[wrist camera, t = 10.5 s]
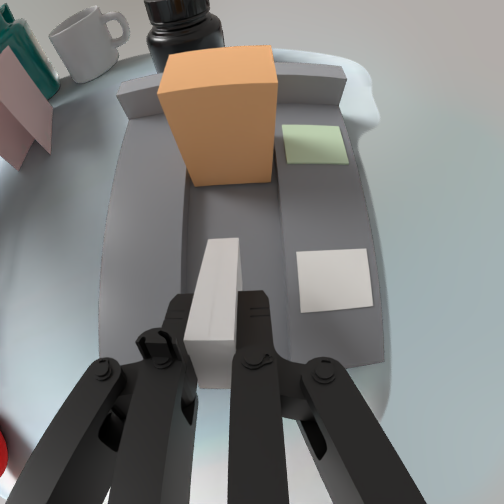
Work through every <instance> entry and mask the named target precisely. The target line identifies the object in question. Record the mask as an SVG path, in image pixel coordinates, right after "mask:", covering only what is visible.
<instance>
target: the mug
mask: <svg viewBox="0 0 504 504" xmlns="http://www.w3.org/2000/svg"><path fill="white" fill-rule="evenodd" d="M110 20H117V21H118V22H119V23H120V25H121V26H122V29H123V35H122V36H121V37H120V38H116V39H112V37H111V34H110V32H109V30H108V28H107V25H106V22H108V21H110ZM129 37H130V28H129V24H128V22H127V20H126V18H125V17H124V16H123V15H122V14H121V13H120V12H116V11H113V12H108V13H105V14H102V13H101V11H100V9H99V7H98V6H92V7H89V8H86V9H84V10H82V11H80V12H78V13H76V14H74V15H72V16H71V17H69V18H68V19H66V20H65V21H63V22H62V23H61V24H59V25H58V26H57V27H56V28H55V29H53V30H52V32H51V33H50V34H49V39H50V41H51V42H52V44H53V46H54V48H55V49H56V51H57V53H58V55H59V56H60V58H61V59H62V61H63V63H64V65H65V66H66V68H67V70H68V71H69V73H70V75H71V77H72V78H73V80H74V81H75V82H76V83H85V82H88V81H91V80H93V79H95V78H97V77H99V76H100V75H102V74H103V73H105V72H106V71H108V70H109V69H110V68H111V67H112V66H113V65H114V64H115V63H116V62H117V60H118V58H119V53H118V50H117V49H116V48H117V47H119V46H121V45H123V44H125V43H126V42H127V41H128V39H129Z"/></svg>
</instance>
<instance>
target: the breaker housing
mask: <svg viewBox="0 0 504 504" xmlns="http://www.w3.org/2000/svg"><path fill="white" fill-rule="evenodd" d="M274 64H275V69H276V74H277V80H278V92H277V106H276V121H275V135H274V148H273V161H272V174H271V182H267V183H244V184H226V185H211V186H198V187H195V186H194V184H193V182H192V179H191V177H190V175H189V172H188V170H187V167H186V165H185V163H184V160H183V158H182V155H181V153H180V151H179V148H178V146H177V143H176V141H175V138H174V136H173V133H172V131H171V129H170V126H169V124H168V121H167V119H166V116H165V114H164V111H163V109H162V106H161V104H160V101H159V98H158V96H157V92H158V88H159V85H160V82H161V79H162V75H163V73H159V74H154V75H150V76H145V77H141V78H137V79H133V80H129V81H125V82H122V83H121V85H120V88H119V90H118V92H117V95H116V96H117V98H118V100H119V102H120V104H121V106H122V108H123V109H124V111H125V113H126V115H127V117H128V119H129V122H128V125H127V128H126V132H125V135H124V139H123V143H122V146H121V150H120V154H119V158H118V162H117V167H116V171H115V176H114V180H113V185H112V190H111V195H110V201H109V207H108V213H107V219H106V226H105V233H104V241H103V250H102V260H101V272H100V287H99V359H100V358H104V357H109V358H113V359H115V360H117V361H118V363H119V364H120V365H125V364H130V363H135V362H138V361H141V360H143V357H142V355H141V353H140V351H139V349H138V347H137V345H136V343H135V341H136V340H137V338H138V336H139V335H141V334H142V333H143V332H144V331H147V330H149V329H152V328H159V327H160V328H161V327H162V324H163V321H164V320H165V315H166V312H167V309H168V306H169V303H170V301H171V300H172V299H173V298H174V297H175V296H176V295H177V294H189V293H194V292H195V288H196V284H197V280H198V277H199V273H200V269H201V265H202V261H203V257H204V253H205V250H206V246H207V242H208V239H221V238H239V247H240V260H241V273H242V291H253V290H263V291H264V292H265V294H266V295H267V296H268V298H269V305H270V314H271V324H272V333H273V343H274V348H275V350H276V352H277V353H278V354H279V355H280V356H281V357H282V358H284V359H286V360H288V361H292V362H296V363H301V364H306V363H307V362H308V361H310V360H312V359H314V358H317V357H329V358H333V359H335V360H337V361H339V362H340V363H341V364H342V365H343V366H344V368H345V369H346V368H352V367H358V366H364V365H370V364H375V363H380V362H384V337H383V320H382V307H381V296H380V287H379V278H378V270H377V263H376V256H375V250H374V243H373V237H372V232H371V226H370V221H369V216H368V211H367V206H366V201H365V197H364V192H363V188H362V184H361V179H360V175H359V171H358V168H357V164H356V160H355V156H354V153H353V149H352V146H351V142H350V139H349V136H348V132H347V129H346V126H345V123H344V120H343V117H342V114H341V111H340V108H339V103H340V100H341V97H342V94H343V91H344V87H345V84H346V81H347V78H346V75H345V73H344V71H343V69H342V67H341V66H334V65H324V64H311V63H291V62H274Z"/></svg>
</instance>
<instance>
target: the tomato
mask: <svg viewBox="0 0 504 504" xmlns="http://www.w3.org/2000/svg"><path fill="white" fill-rule="evenodd" d="M7 462H8V451H7V445H6V442H5V440H4V437H3V435H2V433H1V431H0V477H1V476H2V474H3V473H4V471H5V469H6V466H7Z"/></svg>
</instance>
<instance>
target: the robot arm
mask: <svg viewBox="0 0 504 504" xmlns="http://www.w3.org/2000/svg"><path fill="white" fill-rule="evenodd" d="M135 343H136V345H137V347H138V349H139V351H140V353H141V355H142V357H143V360H141V361H138V362H135V363H130V364H125V365H120V364H119V363H118V361H117V360H115V359H113V358H109V357H104V358H100V359H98V360H96V361H94V362H93V363H92V364H91V365H90V366H89V367H88V369H87V370H86V371H85V373H84V374H83V376H82V377H81V379H80V380H79V381H78V383H77V384H76V386H75V387H74V389H73V390H72V391H71V393H70V394H69V396H68V397H67V399H66V400H65V402H64V403H63V405H62V406H61V408H60V409H59V411H58V412H57V414H56V415H55V417H54V419H53V420H52V422H51V423H50V425H49V426H48V428H47V430H46V431H45V433H44V434H43V436H42V438H41V439H40V441H39V443H38V444H37V446H36V448H35V449H34V451H33V453H32V454H31V456H30V458H29V460H28V461H27V463H26V465H25V467H24V468H23V470H22V472H21V474H20V476H19V478H18V480H17V481H16V483H15V485H14V487H13V489H12V491H11V493H10V495H9V497H8V499H7V501H6V503H5V504H102V503H103V501H104V499H105V497H106V495H107V493H108V491H109V489H110V487H111V489H110V494H109V500H108V504H189V499H190V485H191V472H192V461H193V450H194V439H195V429H196V420H197V411H198V396H197V393H196V388H197V382H198V385H199V387H200V389H231V398H230V425H229V457H228V500H227V504H289V494H288V481H287V469H286V457H285V445H284V434H283V422H282V417H284V418H289V419H294V420H296V421H297V424H298V426H299V428H300V431H301V433H302V435H303V438H304V440H305V442H306V444H307V447H308V449H309V451H310V453H311V456H312V458H313V460H314V462H315V465H316V467H317V469H318V471H319V473H320V476H321V478H322V480H323V482H324V484H325V487H326V489H327V491H328V493H329V495H330V497H331V499H332V502H333V504H426V502H425V500H424V498H423V496H422V495H421V493H420V491H419V490H418V488H417V486H416V484H415V483H414V481H413V479H412V478H411V476H410V474H409V473H408V471H407V469H406V468H405V466H404V464H403V462H402V461H401V459H400V457H399V456H398V454H397V452H396V451H395V449H394V447H393V446H392V444H391V442H390V441H389V439H388V437H387V436H386V434H385V433H384V431H383V429H382V427H381V426H380V424H379V423H378V421H377V419H376V418H375V416H374V414H373V413H372V411H371V410H370V408H369V406H368V405H367V403H366V401H365V400H364V398H363V397H362V395H361V393H360V392H359V390H358V389H357V387H356V385H355V384H354V382H353V380H352V379H351V377H350V376H349V374H348V373H347V371H346V369H345V368H344V366H343V365H342V364H341V363H340V362H339V361H337V360H335V359H333V358H329V357H317V358H314V359H312V360H310V361H308V362H307V363H306V364H301V363H296V362H292V361H288V360H286V359H284V358H282V357H281V356H280V355H279V354H278V353H277V352H276V350H275V348H274V343H273V333H272V324H271V314H270V305H269V298H268V296H267V295H266V294H265V292H264V291H263V290H253V291H242V273H241V260H240V247H239V238H221V239H208V242H207V246H206V250H205V253H204V257H203V261H202V265H201V269H200V273H199V277H198V280H197V284H196V288H195V292H194V293H189V294H177V295H176V296H175V297H174V298H173V299H172V300H171V301H170V303H169V306H168V309H167V312H166V315H165V320H164V321H163V324H162V327H161V328H160V327H159V328H152V329H149V330H147V331H144V332H143V333H142V334H141V335H139V336H138V338H137V340H136V341H135Z"/></svg>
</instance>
